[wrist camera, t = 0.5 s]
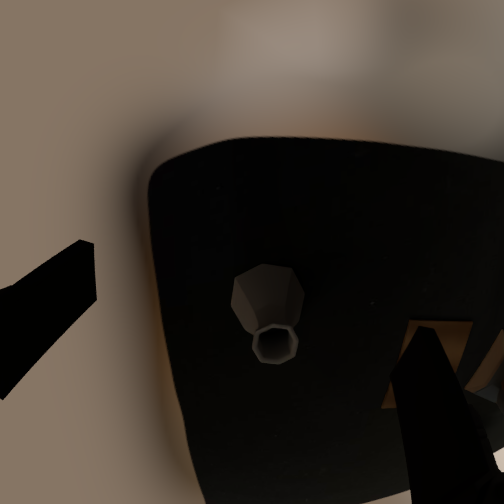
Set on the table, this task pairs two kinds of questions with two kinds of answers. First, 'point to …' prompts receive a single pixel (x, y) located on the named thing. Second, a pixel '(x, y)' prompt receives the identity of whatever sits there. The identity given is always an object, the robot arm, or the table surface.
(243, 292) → the flask
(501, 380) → the alarm clock
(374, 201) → the table surface
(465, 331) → the wooden board
